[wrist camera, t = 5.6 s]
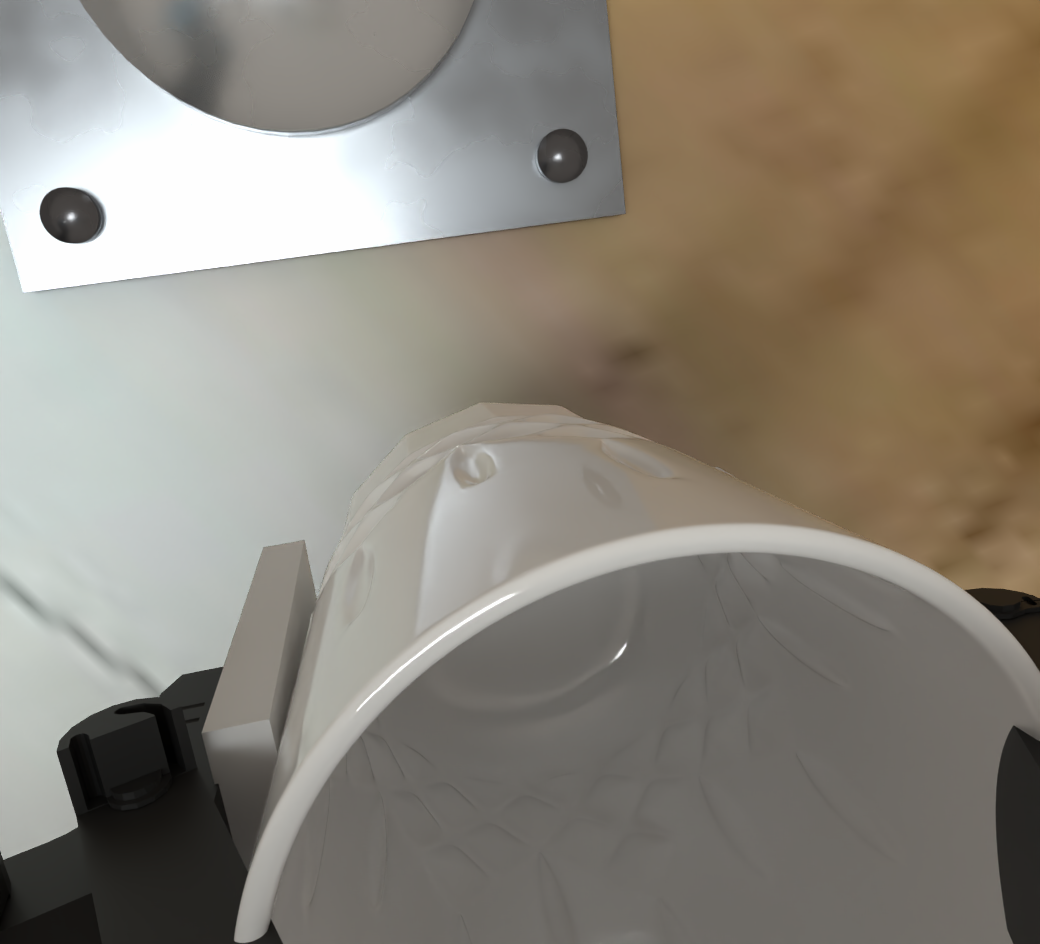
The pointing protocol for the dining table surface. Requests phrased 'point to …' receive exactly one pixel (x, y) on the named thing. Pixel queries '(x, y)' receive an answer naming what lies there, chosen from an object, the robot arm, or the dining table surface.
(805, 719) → the white cup
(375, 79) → the panel
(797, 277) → the dining table surface
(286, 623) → the robot arm
